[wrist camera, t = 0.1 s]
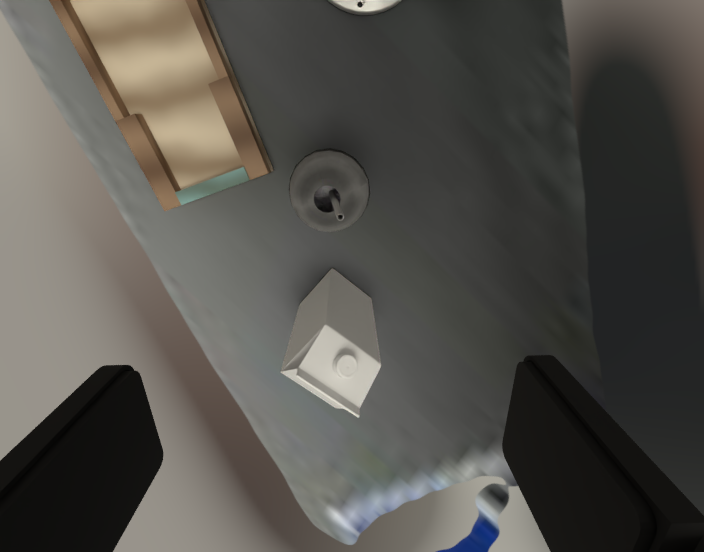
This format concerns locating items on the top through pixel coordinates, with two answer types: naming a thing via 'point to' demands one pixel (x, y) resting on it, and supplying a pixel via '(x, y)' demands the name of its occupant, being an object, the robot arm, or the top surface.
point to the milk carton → (334, 344)
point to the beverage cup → (329, 190)
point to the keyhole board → (169, 93)
